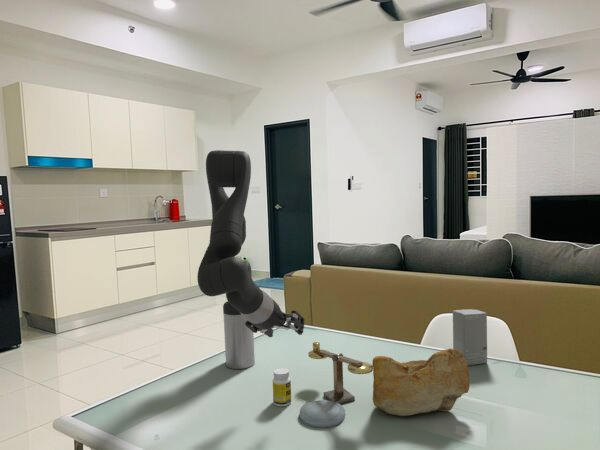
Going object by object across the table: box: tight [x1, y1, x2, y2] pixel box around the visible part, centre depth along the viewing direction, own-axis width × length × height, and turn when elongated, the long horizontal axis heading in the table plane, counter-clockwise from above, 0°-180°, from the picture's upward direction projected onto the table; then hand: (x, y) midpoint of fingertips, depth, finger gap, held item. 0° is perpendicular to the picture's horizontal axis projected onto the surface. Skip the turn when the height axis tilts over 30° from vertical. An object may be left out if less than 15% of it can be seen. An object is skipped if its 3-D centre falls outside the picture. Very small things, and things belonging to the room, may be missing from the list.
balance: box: [307, 341, 373, 405], centre depth 115 cm, size 28×6×13 cm, turn 24°
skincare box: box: [452, 308, 488, 366], centre depth 137 cm, size 8×7×16 cm
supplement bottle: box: [272, 367, 292, 407], centre depth 114 cm, size 5×5×8 cm
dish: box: [299, 399, 346, 429], centre depth 107 cm, size 11×11×1 cm
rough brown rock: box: [371, 348, 471, 417], centre depth 111 cm, size 23×17×15 cm
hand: (286, 332), depth 116 cm, fingers open, 8 cm apart
